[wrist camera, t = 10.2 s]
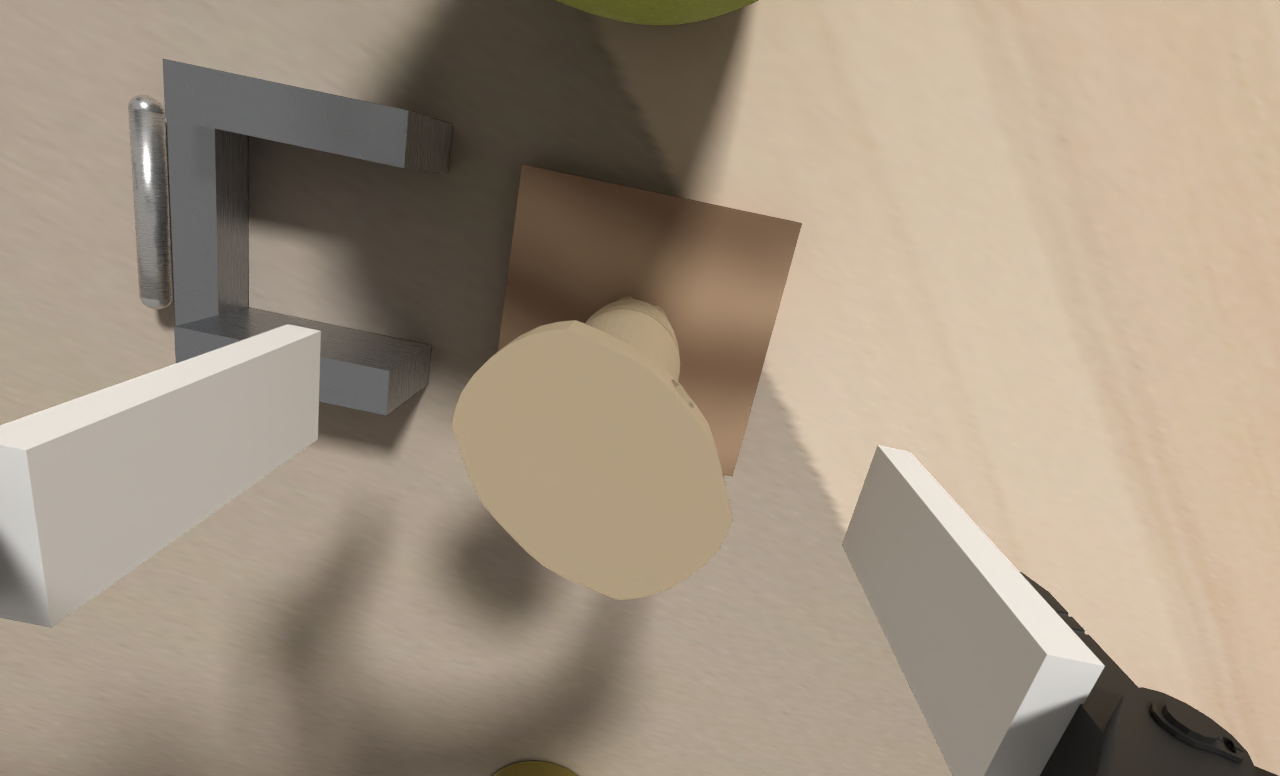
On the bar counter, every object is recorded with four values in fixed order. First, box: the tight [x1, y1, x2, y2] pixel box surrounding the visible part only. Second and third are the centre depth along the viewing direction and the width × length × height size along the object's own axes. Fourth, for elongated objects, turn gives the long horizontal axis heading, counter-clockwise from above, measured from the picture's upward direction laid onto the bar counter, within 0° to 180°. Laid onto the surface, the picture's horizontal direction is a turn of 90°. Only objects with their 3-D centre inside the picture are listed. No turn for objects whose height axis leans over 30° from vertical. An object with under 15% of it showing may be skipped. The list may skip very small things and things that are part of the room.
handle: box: [451, 296, 733, 600], centre depth 20 cm, size 5×6×15 cm
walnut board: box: [498, 164, 802, 476], centre depth 28 cm, size 12×12×1 cm
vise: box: [128, 59, 452, 415], centre depth 26 cm, size 12×13×4 cm
